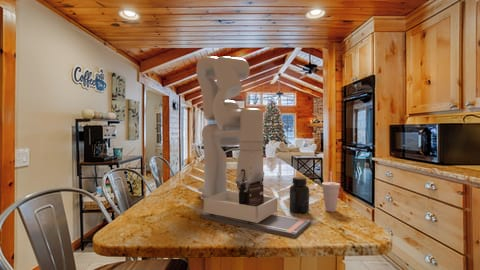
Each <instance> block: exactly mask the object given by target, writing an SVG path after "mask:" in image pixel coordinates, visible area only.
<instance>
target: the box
mask: <svg viewBox="0 0 480 270" xmlns="http://www.w3.org/2000/svg"><path fill="white" fill-rule="evenodd" d="M243 185H244V186H246V185H245V184H243ZM264 191H265V190H264V184H263V185H262V184H259V183H256V182H255V183H252V184H250V185H249V188H248V191H247V192H249V204H248V205H249V206H255V207H257V206H259V205H261V204H263V203H264V196H265V195H264ZM239 204H240V203H239ZM243 205H244V204H243Z"/></svg>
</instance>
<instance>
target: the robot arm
mask: <svg viewBox="0 0 480 270" xmlns="http://www.w3.org/2000/svg"><path fill="white" fill-rule="evenodd" d="M250 69H251V68H250V64H249V62H248V61H247V60H246V59H244V58H241V57H234V56H232V57H231V56H219V57H218V56H203V57H200V58H198V60H197V62H196V77H197V80H198V84H199V86H200V90H201V97H202V98H201V99H202V108H203V116H204V118H205V120H207V121H209V122H215V123H208V124H206V125H204V126H203V128H202V130H201V139H202V144H203V145H202V146H203V161H204V162H203V168H204V169H203V170H204V171H203V175H204V177H203V186H199V187H198V188H197V191H198V192H201V193H202V194H201V195H200V199H201V200H202V201H203V199H204V198H207V197H210V196H213V195H216V194H219V193H222V192H225V191H228V190H227V189H228V185H227V184H228V183H227V182H228V178H227V177H228V176H227V174H228V171H227V169H228V168H227V167H228V163H227V162H228V161H227V154H226V152H225V151H224V149H223V147H234V146H235V147H236V146H239V152H238V156H237V162H236V163H237V164H236V178H235V183H236V187H237V192H239V203H240V204H244V205H248V204H249V192H247V191H248V188H249V185H250V184H252V183H255V182H256V183H259V184H262V185H264V183H263V182H264V177H265V171H264V160H263V159H264V157H263V156H264V155H263V152H264V113H263V110H262V109H260V108H254V107H252V108H249V107H248V108H242V109H241V108H240V105H239V103H237V101H236V100H231V99H234V98H235V97H237V96H239V94H240V93H242V90H243V85H242V82H241V81H244V80H247V78H249V76H250ZM214 78H215V79H214ZM243 184H245V185H246V186H244V185H243Z"/></svg>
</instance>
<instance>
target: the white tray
mask: <svg viewBox="0 0 480 270" xmlns="http://www.w3.org/2000/svg"><path fill="white" fill-rule="evenodd" d="M202 201H203V213H209V214H210V215H211V216H212V215H220V216H225V217H230V218H235V219H240V220H245V221H247V223H251V222H255V223H258V222H260V221H261V220H263V219H265V218H267V217H268V216H270V215H272V214H276V213H277V212H278V197H276V196H268V195H267V196H266V195H264V203H263V204H261V205H259V206H257V207H255V206H249V205H243V204H239V191H231V190H227V191H225V192H222V193H219V194H216V195H213V196H210V197H207V198H204V199H203V200H202Z"/></svg>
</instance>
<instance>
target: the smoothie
mask: <svg viewBox="0 0 480 270" xmlns="http://www.w3.org/2000/svg"><path fill="white" fill-rule="evenodd" d="M329 173H330V174H329V175H330V177H329V178H330V179H329V181H325V182H322V183H321V186H322V191H323V193H322V194H323V200H324V209H325V211H327V212H336V211H337V208H338V201H339V199H338V198H339V193H340V188H341V183H338V182H334V181H333V171H329Z"/></svg>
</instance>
